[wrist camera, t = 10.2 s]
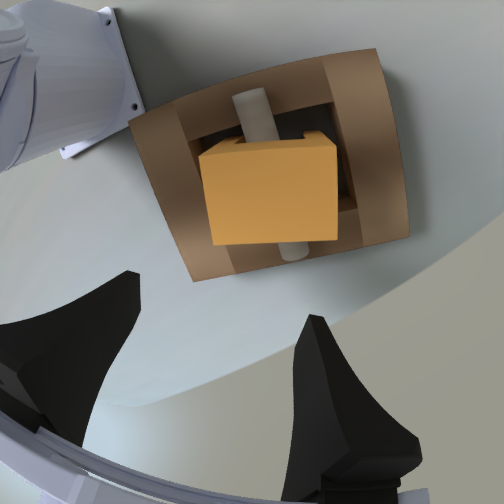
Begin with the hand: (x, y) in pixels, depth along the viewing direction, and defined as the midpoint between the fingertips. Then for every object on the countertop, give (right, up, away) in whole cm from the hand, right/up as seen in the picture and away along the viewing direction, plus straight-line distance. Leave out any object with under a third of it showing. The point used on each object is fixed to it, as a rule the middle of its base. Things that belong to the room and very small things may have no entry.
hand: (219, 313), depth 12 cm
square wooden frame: (+3, +8, +6) cm, 10 cm away
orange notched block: (+3, +8, +6) cm, 10 cm away
